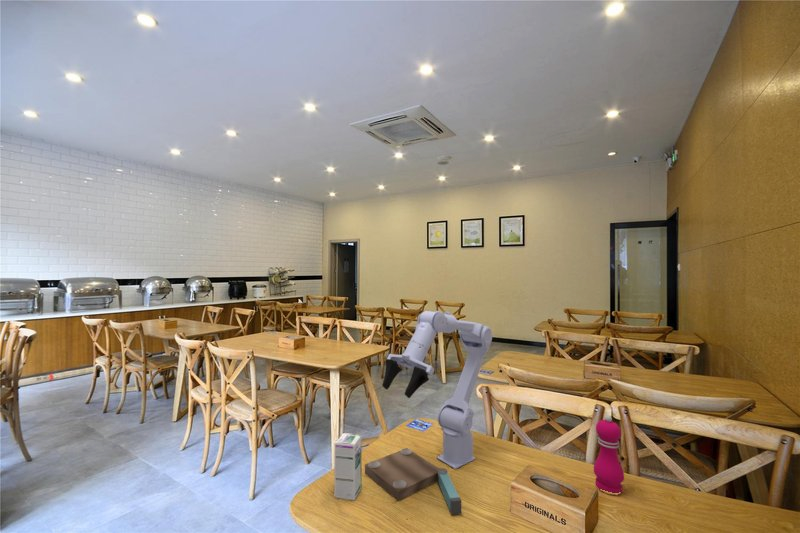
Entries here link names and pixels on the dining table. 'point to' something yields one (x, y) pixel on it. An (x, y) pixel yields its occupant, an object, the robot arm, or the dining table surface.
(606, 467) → the pepper mill
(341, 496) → the syrup box
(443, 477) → the stool leg
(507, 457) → the dining table surface
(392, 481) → the stool seat
